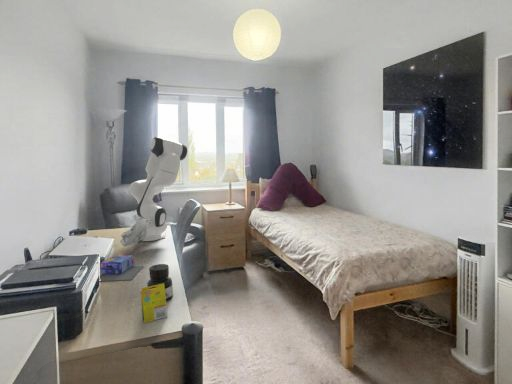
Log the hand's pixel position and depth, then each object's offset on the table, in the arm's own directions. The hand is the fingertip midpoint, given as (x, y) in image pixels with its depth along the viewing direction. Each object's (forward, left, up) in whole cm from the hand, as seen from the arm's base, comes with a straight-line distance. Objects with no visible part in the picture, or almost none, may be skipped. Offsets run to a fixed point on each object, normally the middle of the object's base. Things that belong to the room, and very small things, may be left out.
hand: (122, 235), depth 165 cm
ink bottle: (+51, +32, -13) cm, 61 cm away
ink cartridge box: (+13, +6, -9) cm, 17 cm away
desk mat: (+24, +8, -12) cm, 28 cm away
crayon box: (+66, +34, -13) cm, 75 cm away
